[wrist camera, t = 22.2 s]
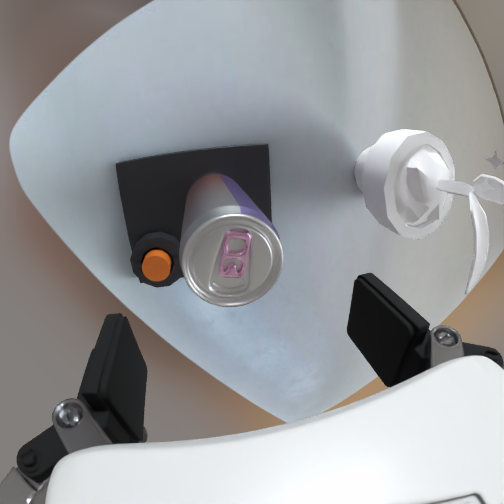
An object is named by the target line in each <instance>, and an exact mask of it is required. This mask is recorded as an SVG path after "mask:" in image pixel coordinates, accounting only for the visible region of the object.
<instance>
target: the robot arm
mask: <svg viewBox="0 0 504 504" xmlns="http://www.w3.org/2000/svg"><path fill="white" fill-rule="evenodd" d="M429 326H430V324H429V323H428V322H427V321H426V320H425V319H424V318H423V317H422V316H421V315H420V314H419V313H417V312H416V311H415V310H414V309H413V308H412V307H411V306H410V305H408V304H407V303H406V302H405V301H404V300H403V299H402V298H401V297H399V296H398V295H397V294H396V293H395V292H394V291H392V290H391V289H390V288H389V287H388V286H387V285H385V284H384V283H383V282H382V281H381V280H380V279H378V278H377V277H376V276H375V275H374V274H372V273H367V274H362V275H359V276H358V277H357V279H356V280H355V281H354V287H353V294H352V301H351V308H350V314H349V320H348V326H347V333H348V335H349V337H350V338H351V340H352V341H353V342H354V344H355V345H356V346H357V348H358V349H359V350H360V352H361V353H362V354H363V356H364V357H365V358H366V360H367V361H368V362H369V364H370V365H371V366H372V368H373V369H374V371H375V372H376V373H377V375H378V376H379V377H380V379H381V380H382V381H383V382H384V384H385V385H386V386H387V387H390V388H388V389H386V390H384V391H381V392H379V393H377V394H374V395H372V396H369V397H367V398H364V399H362V400H359V401H356V402H354V403H351V404H348V405H346V406H343V407H340V408H337V409H334V410H331V411H328V412H325V413H322V414H319V415H315V416H312V417H309V418H305V419H301V420H298V421H294V422H290V423H286V424H283V425H278V426H274V427H270V428H265V429H260V430H255V431H251V432H245V433H240V434H233V435H227V436H220V437H213V438H205V439H195V440H184V441H173V442H154V443H139V441H142V439H143V423H144V422H143V421H144V406H145V392H146V381H147V366H146V363H145V361H144V359H143V356H142V354H141V352H140V350H139V347H138V344H137V342H136V339H135V337H134V334H133V332H132V329H131V327H130V324H129V321H128V319H127V317H123V316H122V314H120V313H118V314H109V315H107V316H106V318H105V321H104V324H103V326H102V329H101V331H100V334H99V337H98V340H97V343H96V345H95V348H94V349H93V350H92V352H91V355H90V357H89V360H88V363H87V367H86V370H85V373H84V376H83V380H82V383H81V386H80V390H79V393H78V397H77V399H74V398H70V399H66V400H63V401H61V402H60V403H59V404H57V406H56V407H55V409H54V411H53V413H52V421H53V424H54V425H52V426H51V427H50V428H48V429H47V430H45V431H44V432H42V433H41V434H40V435H38V436H37V437H35V438H34V439H32V440H31V441H29V442H28V443H27V444H25V445H23V446H22V448H21V449H20V450H19V452H18V455H17V465H18V467H17V468H15V467H13V468H12V469H11V470H10V472H9V473H8V474H7V476H6V477H5V478H4V480H3V481H2V482H1V484H0V504H504V362H503V359H502V356H501V355H500V353H499V352H498V351H497V350H496V349H493V348H490V347H485V346H480V345H474V344H469V343H464V342H462V339H461V336H460V334H459V333H458V331H456V330H455V329H454V328H451V327H449V326H445V325H439V326H436V327H434V328H433V329H432V330H431V331H430V330H429V329H428V328H429Z"/></svg>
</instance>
